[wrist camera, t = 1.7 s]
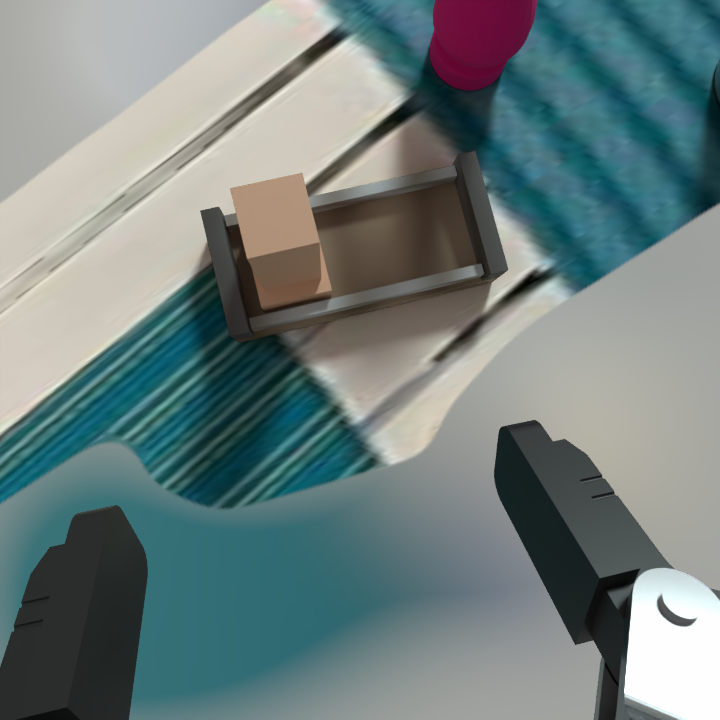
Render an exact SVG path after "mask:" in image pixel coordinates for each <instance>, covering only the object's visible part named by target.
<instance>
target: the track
mask: <svg viewBox="0 0 720 720" xmlns="http://www.w3.org/2000/svg"><path fill="white" fill-rule="evenodd" d="M308 198H309V202H310V206H311V209H312V213H313V217H314V221H315V225H316V229H317V233H318V237H319V241H320V245H321V249H322V253H323V257H324V261H325V265H326V269H327V273H328V276H329V280H330V284H331V288H332V296H331V297H326V298H322V299H318V300H314V301H309V302H305V303H301V304H297V305H292V306H288V307H284V308H280V309H276V310H271V311H267V312H264V310H263V309H262V307H261V304H260V300H259V296H258V292H257V287H256V283H255V279H254V275H253V271H252V267H251V265H250V263H249V261H248V259H247V256H246V252H245V248H244V244H243V240H242V236H241V231H240V227H239V223H238V219H237V215H236V213H234V214H230V215H225V216H224V215H223V213H222V211H221V210H220V208H219V207H215V208H211V209H206V210H202V211H200V212H201V216H202V220H203V224H204V228H205V233H206V237H207V241H208V245H209V250H210V254H211V258H212V262H213V267H214V271H215V275H216V279H217V284H218V288H219V292H220V296H221V301H222V305H223V309H224V313H225V318H226V322H227V326H228V330H229V334H230V337H232V338H233V339H234V340H236V341H237V342H239V343H241V342H245V341H249V340H253V339H257V338H261V337H266V336H270V335H274V334H278V333H282V332H286V331H291V330H295V329H299V328H303V327H307V326H311V325H316V324H320V323H324V322H328V321H332V320H336V319H341V318H345V317H349V316H353V315H357V314H361V313H366V312H370V311H374V310H378V309H382V308H386V307H391V306H395V305H399V304H403V303H407V302H411V301H416V300H420V299H424V298H428V297H432V296H436V295H441V294H445V293H449V292H453V291H457V290H461V289H466V288H470V287H474V286H478V285H482V284H486V283H491V282H493V281H494V280H496V279H497V278H498V277H500V276H501V275H502V274H504V273H505V272H506V271H507V270H508V267H507V263H506V260H505V256H504V252H503V249H502V245H501V242H500V238H499V234H498V231H497V227H496V224H495V220H494V216H493V213H492V209H491V206H490V202H489V198H488V195H487V191H486V187H485V184H484V180H483V177H482V173H481V169H480V166H479V162H478V159H477V155H476V151H472V152H467V153H463V154H458V156H457V158H456V160H455V162H454V163H453V165H452V166H448V167H443V168H439V169H434V170H430V171H425V172H421V173H416V174H412V175H407V176H403V177H398V178H393V179H389V180H384V181H380V182H375V183H371V184H366V185H362V186H357V187H353V188H348V189H343V190H339V191H334V192H330V193H325V194H321V195H316V196H312V197H308Z"/></svg>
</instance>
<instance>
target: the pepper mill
mask: <svg viewBox="0 0 720 720" xmlns="http://www.w3.org/2000/svg"><path fill="white" fill-rule="evenodd" d="M536 6H537V0H435V4H434V9H433V25H434V32H433V36H432V40H431V43H430V50H429V52H430V59H431V63H432V66H433V68H434V70H435V72H436V73H437V75H438V76H439V77H440V78H441V79H442V80H443V81H444V82H446V83H447V84H449V85H451V86H452V87H454V88H457V89H461V90H478V89H482V88H484V87H487V86H489V85H490V84H492V83H493V82H494V81H495V80H496V79H497V78H498V77H499V76H500V74H501V73H502V71H503V69H504V67H505V65H506V63H507V61H508V59H510V58H511V57H512V56H514V55H515V54H516V53H517V52H518V51H519V49H520V48H521V47H522V46H523V44H524V43H525V41H526V39H527V37H528V34H529V32H530V29H531V27H532V24H533V22H534V17H535V12H536Z"/></svg>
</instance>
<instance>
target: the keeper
mask: <svg viewBox="0 0 720 720" xmlns="http://www.w3.org/2000/svg"><path fill="white" fill-rule="evenodd" d="M230 190H231V194H232V198H233V202H234V207H235V211H236V215H237V219H238V223H239V227H240V231H241V236H242V240H243V244H244V248H245V252H246V256H247V259H248V261H249V263H250V265H251V267H252V271H253V275H254V279H255V283H256V287H257V292H258V296H259V300H260V304H261V307H262V309H263V310H264V312H267V311H271V310H276V309H280V308H284V307H288V306H292V305H297V304H301V303H305V302H309V301H314V300H318V299H322V298H326V297H331V296H332V288H331V284H330V280H329V276H328V273H327V269H326V265H325V261H324V257H323V253H322V249H321V245H320V241H319V237H318V233H317V229H316V225H315V221H314V217H313V213H312V209H311V206H310V202H309V198H308V194H307V190H306V186H305V182H304V178H303V174H302V173H299V174H295V175H290V176H285V177H281V178H276V179H272V180H267V181H262V182H258V183H253V184H248V185H244V186H239V187H234V188H230Z"/></svg>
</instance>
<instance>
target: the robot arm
mask: <svg viewBox="0 0 720 720" xmlns="http://www.w3.org/2000/svg"><path fill="white" fill-rule="evenodd" d="M715 90H716V95H717V99H718V101H719V103H720V61H719V63H718V65H717V69H716V73H715ZM494 479H495V485H496V489H497V492H498V495H499V498H500V500H501V502H502V504H503V506H504V508H505V510H506V512H507V514H508V516H509V518H510V520H511V522H512V523H513V525H514V527H515V529H516V531H517V533H518V535H519V537H520V539H521V541H522V543H523V545H524V547H525V549H526V551H527V552H528V554H529V556H530V558H531V560H532V562H533V564H534V566H535V568H536V570H537V572H538V574H539V576H540V578H541V580H542V581H543V583H544V585H545V587H546V589H547V591H548V593H549V595H550V597H551V599H552V601H553V603H554V605H555V607H556V609H557V610H558V612H559V614H560V616H561V618H562V620H563V622H564V624H565V626H566V628H567V630H568V632H569V634H570V636H571V637H572V639H573V641H574V643H575V645H576V644H581V643H585V642H588V641H592V640H594V642H595V644H596V646H597V648H598V649H599V651H600V653H601V655H602V658H601V663H600V672H599V680H598V689H597V696H596V706H595V714H594V720H720V591H717V590H714V589H710V588H708V587H707V586H706V585H705V584H703V583H702V582H701V581H699V580H697V579H696V578H694V577H692V576H691V575H688V574H687V573H684V572H681V571H678V570H675V569H674V568H673V567H672V566H671V565H670V564H669V563H668V562H667V561H666V560H665V559H664V557H663V556H662V555H661V553H660V552H659V551H658V549H657V548H656V547H655V545H654V544H653V543H652V541H651V540H650V539H649V537H648V536H647V535H646V534H645V532H644V531H643V529H642V528H641V526H640V525H639V524H638V522H637V521H636V520H635V518H634V517H633V516H632V514H631V513H630V512H629V510H628V509H627V508H626V506H625V505H624V504H623V503H622V501H621V500H620V498H619V497H618V496H616V495H615V494H614V490H613V489H612V488H611V486H610V485H609V484H608V482H607V481H606V480H605V479H603V478H602V474H601V473H600V472H599V470H598V469H597V467H596V466H595V465H594V463H593V462H592V461H591V459H590V458H589V457H588V455H587V454H585V453H584V452H582V451H581V450H580V449H578V448H577V447H575V446H574V445H573V444H571V443H570V442H568V441H567V440H565V439H563V440H559V441H554V442H553V441H552V440H551V438H550V437H549V435H548V434H547V432H546V431H545V430H544V428H543V427H542V425H541V424H540V423H539V422H537V421H536V420H532V421H527V422H523V423H517V424H513V425H508V426H503V427H501V428H500V430H499V435H498V443H497V453H496V461H495V469H494ZM147 576H148V568H147V559H146V554H145V551H144V548H143V546H142V544H141V543H140V541H139V539H138V537H137V535H136V534H135V532H134V530H133V529H132V527H131V525H130V524H129V522H128V520H127V518H126V516H125V514H124V513H123V511H122V509H121V508H120V507H119V506H117V505H115V506H110V507H105V508H100V509H95V510H91V511H86V512H81V513H77V514H76V515H75V516H74V517H73V519H72V521H71V524H70V527H69V531H68V534H67V538H66V542H65V544H63V545H58V546H53V547H50V548H49V549H48V551H47V552H46V553H45V555H44V556H43V558H42V559H41V560H40V562H39V563H38V565H37V566H36V568H35V569H34V570H33V572H32V573H31V575H30V578H29V581H28V584H27V587H26V590H25V593H24V596H23V599H22V602H21V603H22V608H20V609H19V611H18V615H17V618H16V621H15V624H14V629H15V630H14V632H12V633H11V636H10V639H9V642H8V645H7V648H6V651H5V654H4V657H3V660H2V664H1V667H0V720H129V714H130V706H131V698H132V691H133V683H134V676H135V668H136V661H137V653H138V645H139V638H140V630H141V623H142V615H143V608H144V600H145V592H146V585H147Z"/></svg>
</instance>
